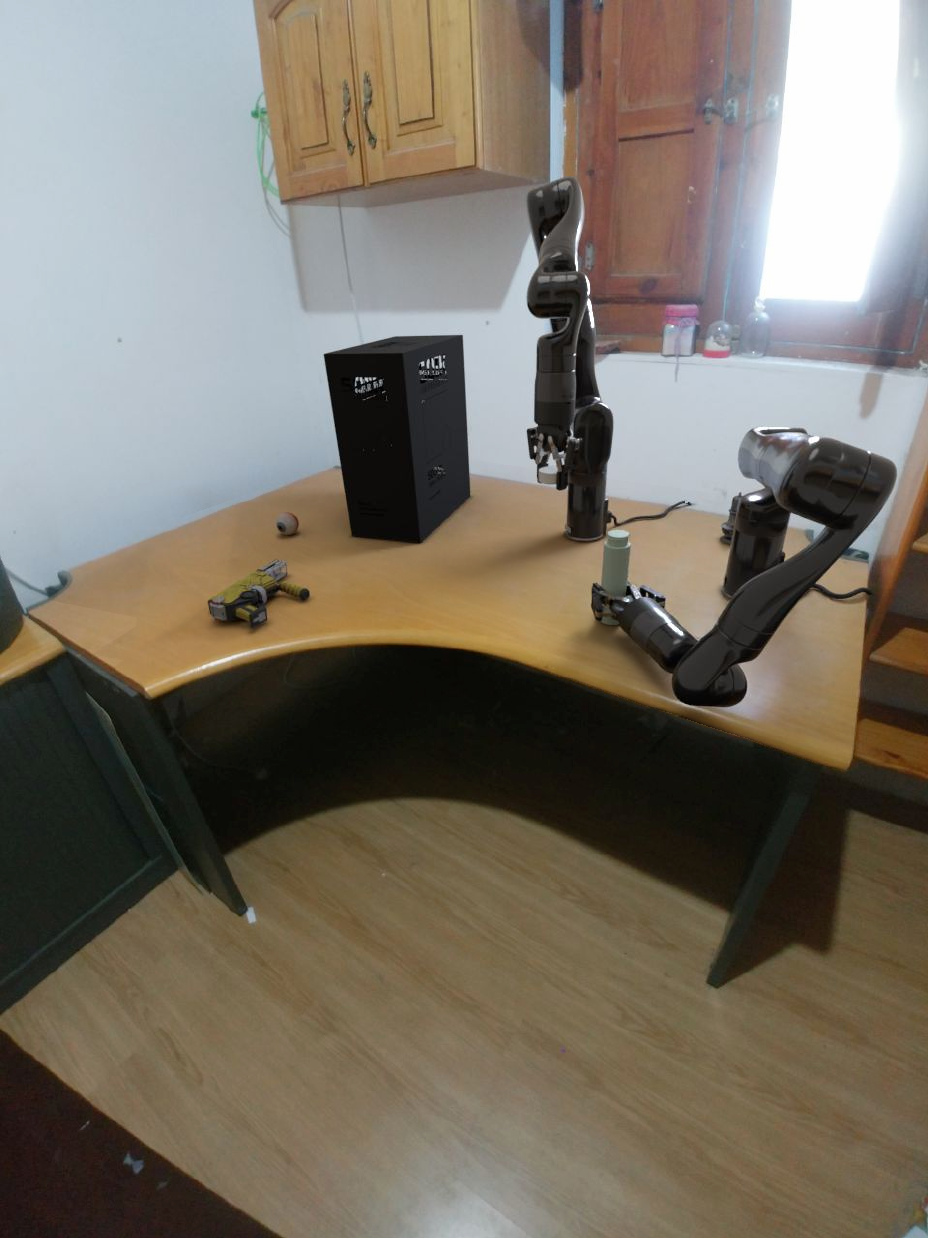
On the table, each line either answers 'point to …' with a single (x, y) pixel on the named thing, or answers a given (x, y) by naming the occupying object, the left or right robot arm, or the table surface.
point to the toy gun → (253, 595)
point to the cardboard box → (401, 434)
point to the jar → (615, 566)
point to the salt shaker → (730, 521)
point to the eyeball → (287, 523)
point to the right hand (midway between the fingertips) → (607, 585)
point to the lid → (548, 475)
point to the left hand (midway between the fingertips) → (552, 485)
